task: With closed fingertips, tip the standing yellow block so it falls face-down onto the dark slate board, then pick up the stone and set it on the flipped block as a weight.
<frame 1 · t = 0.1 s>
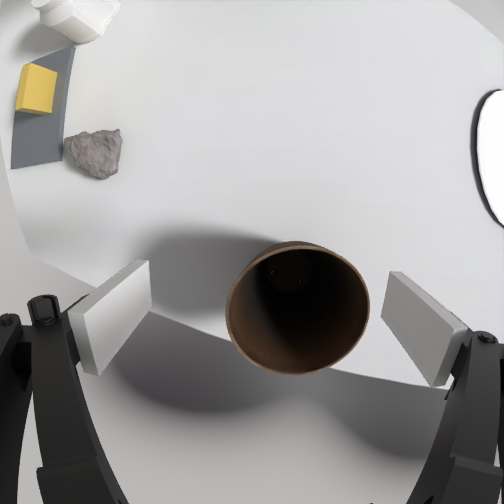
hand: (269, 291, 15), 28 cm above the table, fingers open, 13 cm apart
stone: (103, 149, 40), on the table
slate board: (40, 108, 38), on the table
yellow block: (50, 93, 36), point 1 cm above the table, touching slate board
jar: (95, 18, 33), on the table
plant pot: (287, 268, 44), on the table
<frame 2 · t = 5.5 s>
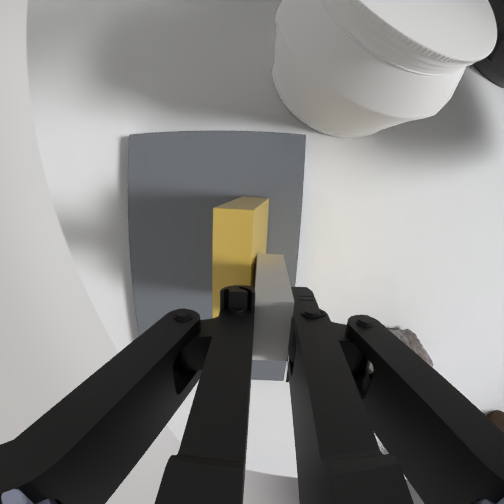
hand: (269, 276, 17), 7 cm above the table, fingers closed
stone: (370, 349, 27), on the table
slate board: (211, 265, 25), on the table
yellow block: (253, 248, 23), point 1 cm above the table, tilted 6°, touching slate board
jar: (340, 74, 20), on the table
plant pot: (484, 424, 31), on the table
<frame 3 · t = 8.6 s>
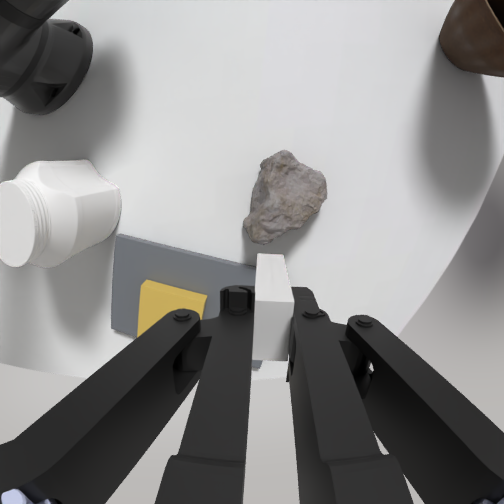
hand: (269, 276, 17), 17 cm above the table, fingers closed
stone: (278, 196, 33), on the table
slate board: (191, 303, 37), on the table
yellow block: (174, 290, 34), point 2 cm above the table, tilted 90°, touching slate board
jar: (86, 202, 34), on the table
plant pot: (456, 50, 26), on the table
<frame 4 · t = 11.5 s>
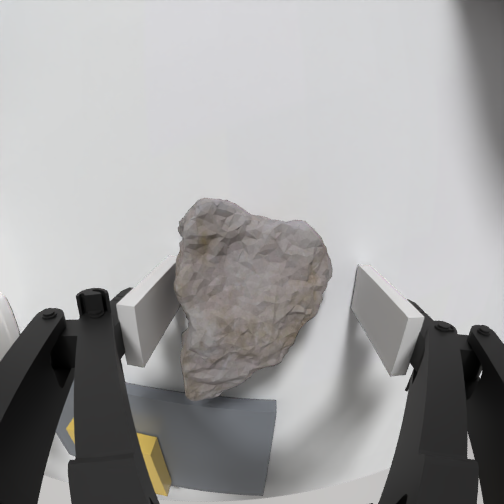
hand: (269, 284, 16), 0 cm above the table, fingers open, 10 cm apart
stone: (235, 281, 17), on the table, touching gripper
slate board: (144, 437, 21), on the table
yellow block: (108, 434, 18), point 2 cm above the table, tilted 90°, touching slate board
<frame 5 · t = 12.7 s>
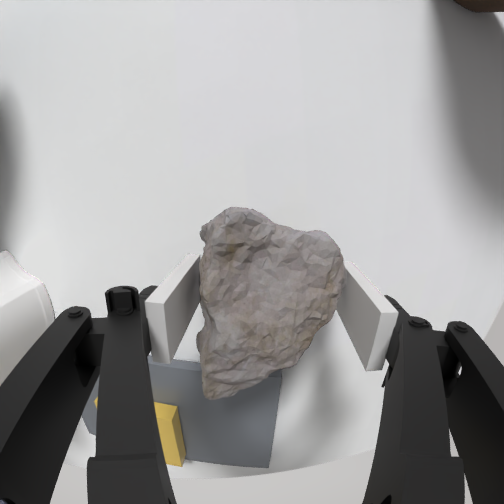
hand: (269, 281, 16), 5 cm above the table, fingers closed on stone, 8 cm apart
stone: (252, 284, 18), point 4 cm above the table, touching gripper
slate board: (164, 410, 25), on the table
yellow block: (134, 404, 22), point 2 cm above the table, tilted 90°, touching slate board
jar: (21, 300, 24), on the table
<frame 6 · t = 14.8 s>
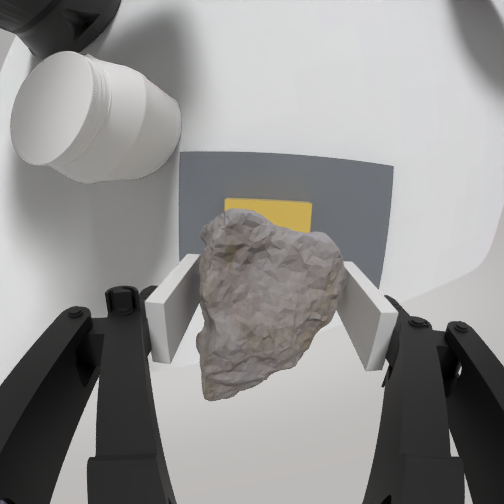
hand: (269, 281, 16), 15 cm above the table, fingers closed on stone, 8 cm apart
stone: (252, 285, 18), point 14 cm above the table, touching gripper
slate board: (286, 222, 30), on the table
yellow block: (268, 200, 27), point 2 cm above the table, tilted 90°, touching slate board
jar: (133, 128, 28), on the table
when the fingers open (5 cm above the table, at t = 16.9 s): stone stays where it is, resting on yellow block.
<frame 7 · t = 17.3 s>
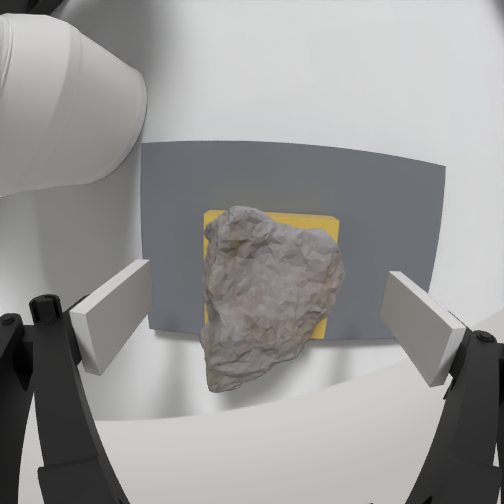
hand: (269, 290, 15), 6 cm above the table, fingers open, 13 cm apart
stone: (254, 281, 18), point 3 cm above the table, touching yellow block
slate board: (297, 245, 21), on the table
yellow block: (271, 214, 18), point 2 cm above the table, tilted 90°, touching slate board, stone
jar: (86, 115, 19), on the table
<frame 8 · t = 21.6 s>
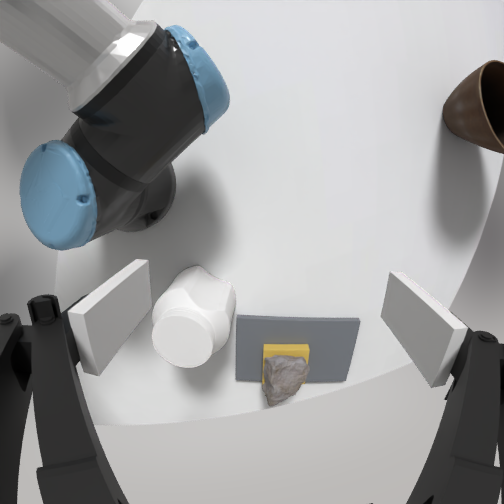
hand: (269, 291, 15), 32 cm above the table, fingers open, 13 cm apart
stone: (280, 368, 50), point 3 cm above the table, touching yellow block
slate board: (295, 350, 52), on the table
yellow block: (286, 347, 49), point 2 cm above the table, tilted 90°, touching stone
jar: (203, 296, 50), on the table
plant pot: (456, 118, 39), on the table
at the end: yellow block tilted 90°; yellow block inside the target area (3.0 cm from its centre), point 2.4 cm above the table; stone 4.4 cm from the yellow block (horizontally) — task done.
